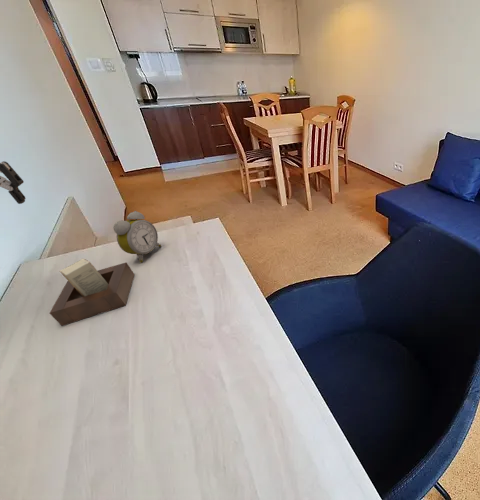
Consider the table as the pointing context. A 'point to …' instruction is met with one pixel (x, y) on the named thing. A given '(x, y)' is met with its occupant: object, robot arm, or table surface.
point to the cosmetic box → (85, 278)
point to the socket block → (94, 296)
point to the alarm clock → (136, 235)
